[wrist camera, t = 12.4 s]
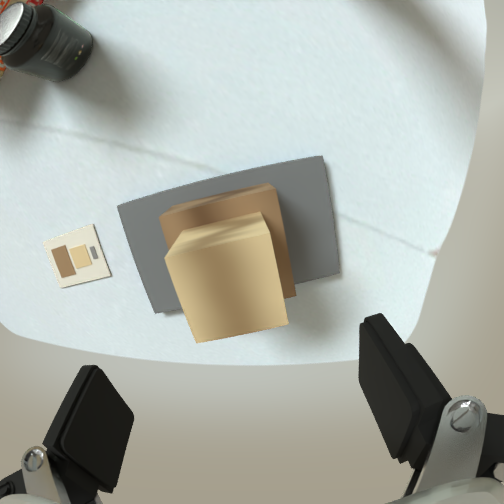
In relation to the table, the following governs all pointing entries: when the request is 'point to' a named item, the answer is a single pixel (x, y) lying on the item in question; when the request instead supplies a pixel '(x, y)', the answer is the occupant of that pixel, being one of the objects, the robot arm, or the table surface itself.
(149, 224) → the board
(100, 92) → the table surface
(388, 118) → the table surface
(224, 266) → the oak brick
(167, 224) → the brick
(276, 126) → the table surface
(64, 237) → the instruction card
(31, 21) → the supplement bottle
